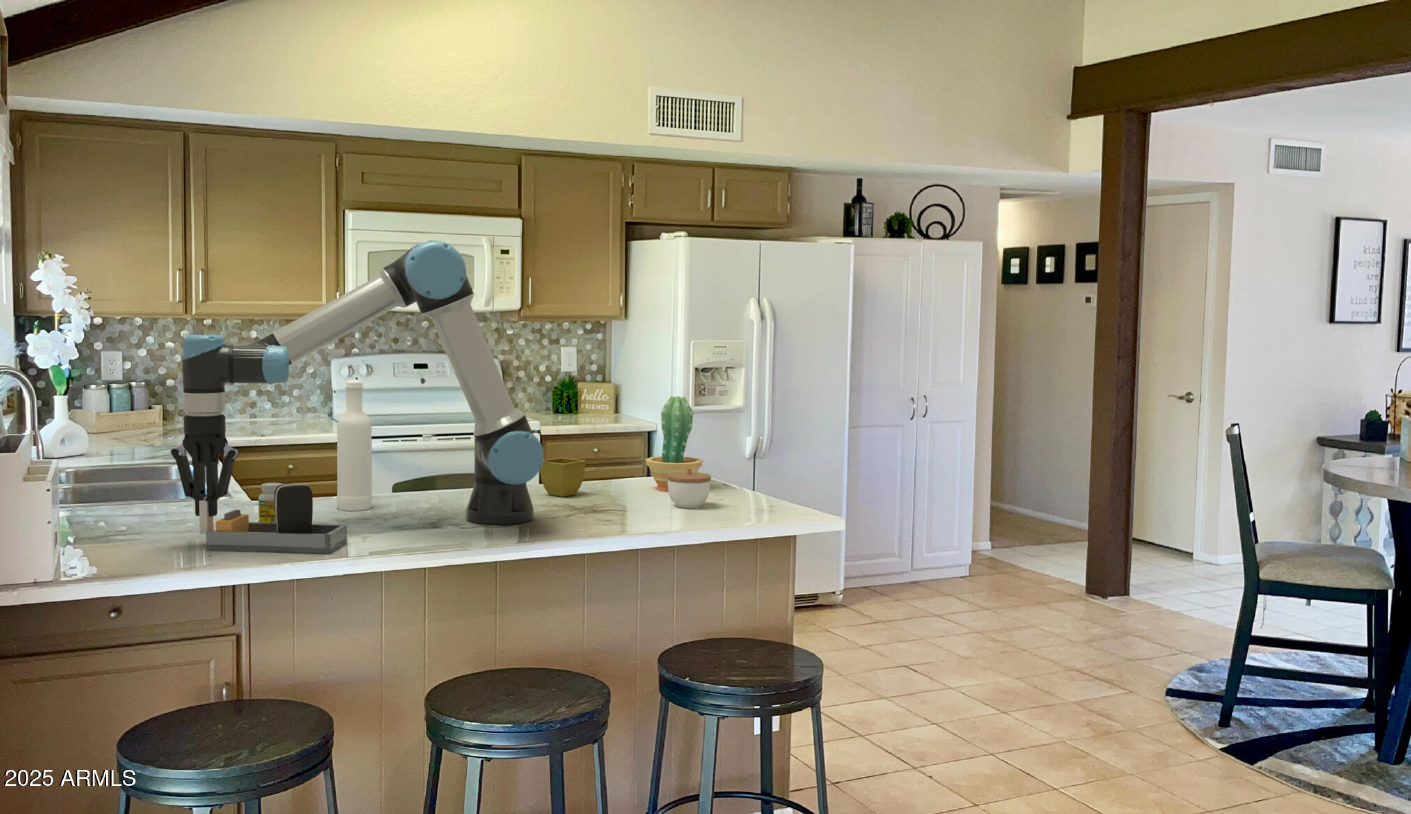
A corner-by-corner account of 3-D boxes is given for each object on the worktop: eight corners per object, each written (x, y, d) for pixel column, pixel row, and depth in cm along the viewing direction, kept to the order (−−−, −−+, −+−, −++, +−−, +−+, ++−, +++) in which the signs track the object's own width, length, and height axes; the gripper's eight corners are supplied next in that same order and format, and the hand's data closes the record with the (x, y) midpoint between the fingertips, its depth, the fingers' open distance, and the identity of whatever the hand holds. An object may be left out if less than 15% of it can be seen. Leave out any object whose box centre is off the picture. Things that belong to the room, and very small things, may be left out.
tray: (346, 543, 231) (346, 524, 231) (329, 553, 221) (329, 534, 221) (229, 539, 231) (228, 521, 231) (206, 550, 221) (206, 531, 221)
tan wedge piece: (248, 533, 230) (248, 508, 230) (231, 542, 222) (231, 515, 222) (234, 533, 230) (233, 508, 230) (216, 541, 222) (215, 515, 222)
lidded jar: (702, 501, 289) (703, 465, 288) (716, 509, 279) (717, 471, 278) (661, 503, 286) (662, 465, 285) (673, 510, 275) (674, 472, 275)
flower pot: (537, 495, 293) (537, 460, 292) (560, 491, 300) (560, 457, 299) (563, 499, 288) (563, 463, 287) (586, 494, 295) (586, 460, 294)
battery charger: (308, 537, 230) (308, 481, 229) (313, 540, 226) (313, 483, 225) (272, 540, 226) (271, 483, 225) (277, 544, 222) (276, 486, 221)
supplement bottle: (290, 526, 245) (290, 482, 245) (277, 531, 240) (277, 486, 239) (267, 525, 246) (266, 481, 245) (253, 530, 241) (253, 485, 240)
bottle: (360, 503, 275) (360, 379, 272) (378, 508, 269) (378, 381, 267) (330, 507, 269) (329, 380, 266) (348, 512, 263) (348, 382, 261)
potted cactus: (712, 488, 310) (715, 396, 308) (682, 496, 297) (684, 400, 294) (665, 482, 318) (667, 393, 315) (633, 489, 305) (635, 396, 302)
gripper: (245, 412, 228) (247, 529, 230) (181, 411, 228) (183, 527, 230) (229, 416, 220) (230, 537, 222) (162, 414, 221) (164, 535, 223)
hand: (206, 532), depth 226 cm, fingers closed
